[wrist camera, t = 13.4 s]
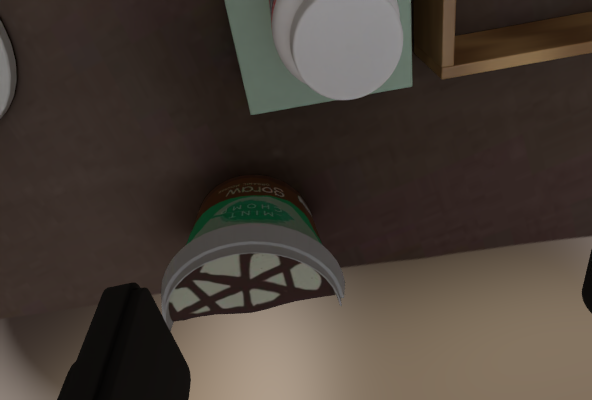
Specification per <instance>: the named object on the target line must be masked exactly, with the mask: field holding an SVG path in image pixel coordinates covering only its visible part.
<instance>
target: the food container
mask: <svg viewBox="0 0 592 400" xmlns="http://www.w3.org/2000/svg"><path fill="white" fill-rule="evenodd" d="M344 289H345V280H344V277H343V273H342V270H341V268H340V266H339V264H338V262H337V261H336V259H335V258H334V257H333V256H332V254H331V253H330V252H329V251H328V250H327V249H326V248H325V247H324V246H323V245H322V243H321V240H320V238H319V235H318V232H317V229H316V226H315V224H314V221H313V218H312V215H311V212H310V210H309V207H308V205H307V204H306V202H305V201H304V199H303V198H302V196H301V195H300V193H299V192H298V191H296V190H295V189H293V188H292V187H291V186H289V185H288V184H287V183H285V182H284V181H281V180H278V179H275V178H272V177H269V176H265V175H242V176H238V177H234V178H231V179H229V180H227V181H224V182H223V183H221V184H219V185H218V186H216V187H215V188H214V189H213V190H212V191H210V193H209V194H208V195H207V196H206V197H205V199H204V201H203V203H202V204H201V207H200V209H199V212H198V215H197V217H196V220H195V223H194V225H193V228H192V231H191V233H190V236H189V239H188V242H187V244H186V246H185V247H183V248H182V249H181V250H180V251H179V252H178V253H177V254H176V255H175V257H174V258H173V259H172V260H171V262H170V264H169V265H168V267H167V269H166V271H165V274H164V277H163V280H162V289H161V299H162V314H163V318H164V320H165V322H166V324H167V326H168V328H169V330H170V331H171V328H172V325H173V322H174V321H179V320H187V319H190V318H194V317H200V316H207V315H214V314H235V313H251V312H256V311H261V310H265V309H269V308H272V307H276V306H278V305H282V304H286V303H290V302H294V301H299V300H305V299H311V298H317V297H323V296H330V295H335V294H336V295H337V298H338V301H339V303H340V305H342V304H341V298H344ZM335 292H336V293H335Z"/></svg>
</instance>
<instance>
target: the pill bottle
mask: <svg viewBox="0 0 592 400" xmlns="http://www.w3.org/2000/svg"><path fill="white" fill-rule="evenodd" d="M269 7H270V15H271V24H272V35H273V40H274V44H275V47H276V50H277V52H278V54H279V56H280V58H281V60H282V62H283V64H284V65H285V66H286V68H287V69H288V70H289V71H290V73H291V74H292V75H293V76H295V77H296V78H297V79H298V80H300V81H301V82H303V83H305V84H306V85H308V86H309V87H310V88H311V89H312V90H314V91H315V92H316V93H318V94H320V95H322V96H325V97H327V98H331V99H335V100H352V99H357V98H361V97H363V96H366V95H368V94H370V93H372V92H373V91H375V90H377V89H378V88H379V87H380V86H382V85H383V84H384V83H385V82H386V81H387V79H388V78H389V77H390V76H391V75H392V73H393V71H394V70H395V68H396V66H397V64H398V62H399V60H400V57H401V53H402V48H403V29H402V25H401V21H400V13H399V7H398V2H397V0H269Z"/></svg>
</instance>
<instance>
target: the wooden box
mask: <svg viewBox="0 0 592 400" xmlns="http://www.w3.org/2000/svg"><path fill="white" fill-rule="evenodd" d="M455 14H456V0H413V16H414V43H415V44H414V54H415V55H416V56H417V57H418V58H420V59H421V60H422V61H423V62H424V63H425V64H426V65H427V66H428V67H429V68H430V69H431V70H432V71H433V72H434V73H435V74H437V75H438V76H439V77H440V78H441V79H447V78H453V77H459V76H464V75H470V74H475V73H481V72H487V71H492V70H498V69H503V68H509V67H515V66H520V65H526V64H531V63H537V62H543V61H548V60H554V59H559V58H565V57H571V56H576V55H582V54H587V53H592V11H590V12H585V13H579V14H574V15H568V16H563V17H557V18H552V19H546V20H541V21H535V22H530V23H524V24H519V25H513V26H508V27H502V28H497V29H491V30H486V31H480V32H475V33H469V34H464V35H458V36H455Z"/></svg>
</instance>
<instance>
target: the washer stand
mask: <svg viewBox="0 0 592 400" xmlns="http://www.w3.org/2000/svg"><path fill="white" fill-rule="evenodd" d="M224 2H225V6H226V10H227V15H228V19H229V23H230V28H231V32H232V36H233V41H234V45H235V49H236V53H237V58H238V62H239V66H240V71H241V75H242V79H243V84H244V88H245V92H246V97H247V101H248V105H249V110H250V114H251V115H255V114H261V113H267V112H272V111H278V110H283V109H289V108H295V107H300V106H306V105H311V104H317V103H323V102H328V101H334V100H335V99H331V98H327V97H325V96H322V95H320V94H318V93H316V92H315V91H314V90H312V89H311V88H310V87H309V86H308V85H306V84H305V83H303V82H301V81H300V80H298V79H297V78H296V77H295V76H293V75H292V74H291V73H290V71H289V70H288V69H287V68H286V66H285V65H284V64H283V62H282V60H281V58H280V56H279V54H278V52H277V50H276V47H275V44H274V40H273V35H272V24H271V15H270V7H269V0H224ZM397 2H398V7H399V13H400V21H401V25H402V29H403V48H402V53H401V57H400V60H399V62H398V64H397V66H396V68H395V70H394V71H393V73H392V75H391V76H390V77H389V78H388V79H387V81H386V82H385V83H384V84H383V85H382V86H380V87H379V88H378V89H377V90H375V91H373V92H372V93H370V94H373V93H379V92H384V91H390V90H395V89H401V88H407V87H412V33H411V0H397Z"/></svg>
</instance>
